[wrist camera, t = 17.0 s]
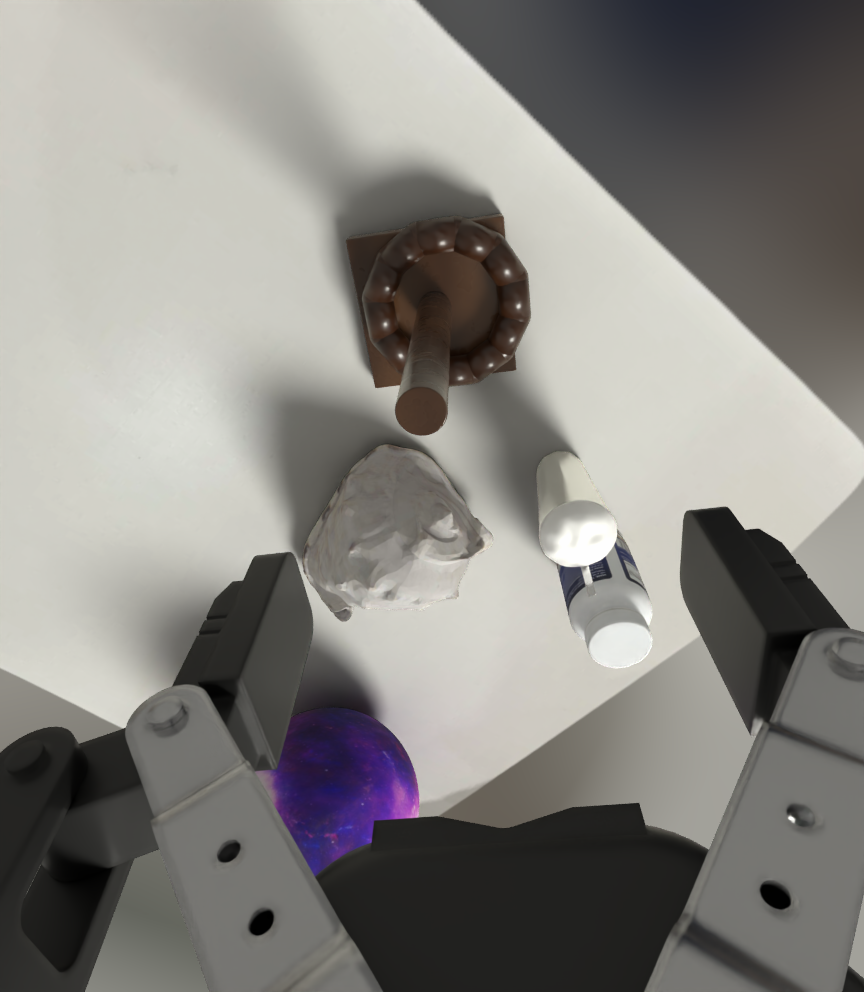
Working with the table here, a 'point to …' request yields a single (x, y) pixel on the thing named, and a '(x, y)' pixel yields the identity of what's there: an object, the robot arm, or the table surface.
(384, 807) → the decorative orb
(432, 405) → the stand
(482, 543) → the seashell
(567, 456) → the milkshake
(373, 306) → the ring
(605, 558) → the pill bottle
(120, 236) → the table surface
